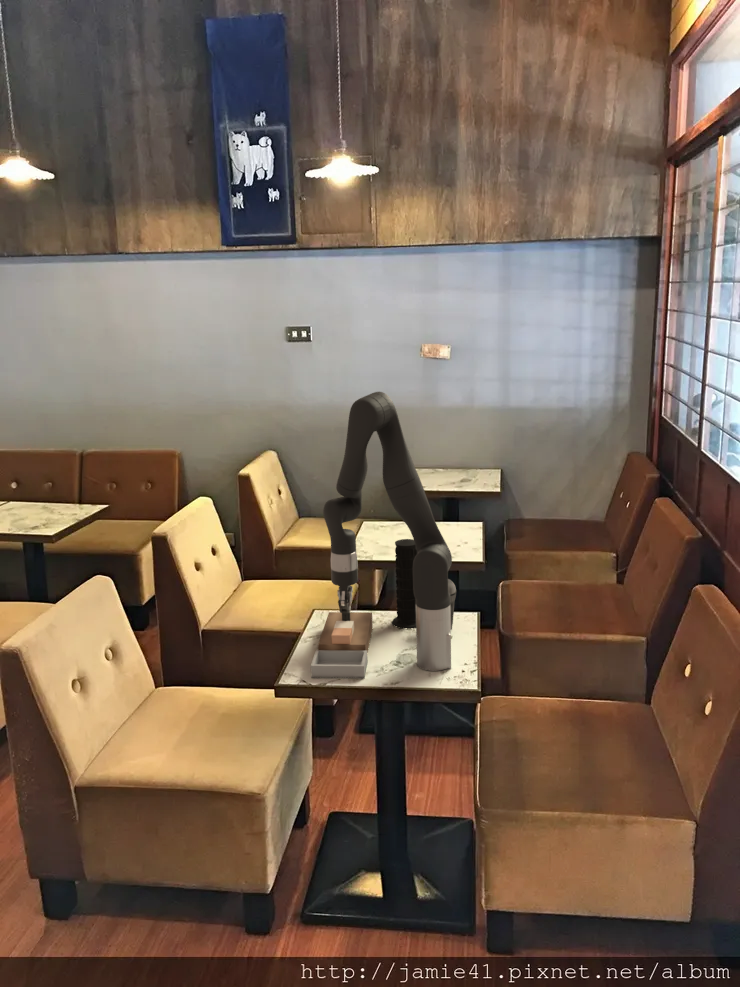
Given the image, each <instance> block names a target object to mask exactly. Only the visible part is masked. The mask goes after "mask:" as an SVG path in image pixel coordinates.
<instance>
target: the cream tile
mask: <svg viewBox="0 0 740 987" xmlns="http://www.w3.org/2000/svg"><path fill="white" fill-rule="evenodd" d="M334 628H352V635H353V631H354V621H336V623H335V626H334Z"/></svg>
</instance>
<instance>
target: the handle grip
mask: <svg viewBox="0 0 740 987" xmlns="http://www.w3.org/2000/svg"><path fill="white" fill-rule="evenodd" d="M394 545H395V548H394V552H395V578H396V579H395V584H396V585H395V587H396V590H395V591H396V592H395V593H396V608H397V609H396V617H394V618H393V619H392V621H391V624H392V626H394V625H395V626H397V627H396V628H398V627H400V628H399V629H403V628H407V629H406V630H412V629H411V628H413V629H416V599H415V596H414V590H413V561H414V558H415V556H416V555H417V548H416V545H415V542H414V539H413V538H412V539H411V538H410V539H409V538H404V539H397V540H396V541H395V542H394ZM395 626H394V627H395Z"/></svg>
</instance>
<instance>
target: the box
mask: <svg viewBox="0 0 740 987" xmlns="http://www.w3.org/2000/svg"><path fill="white" fill-rule="evenodd" d="M367 667H368V654H367V650H318V649H316V650H315V652H314V655H313V658H312V661H311V664H310V676H311V679H363V678H364V679H365V677H366V673H367Z"/></svg>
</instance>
